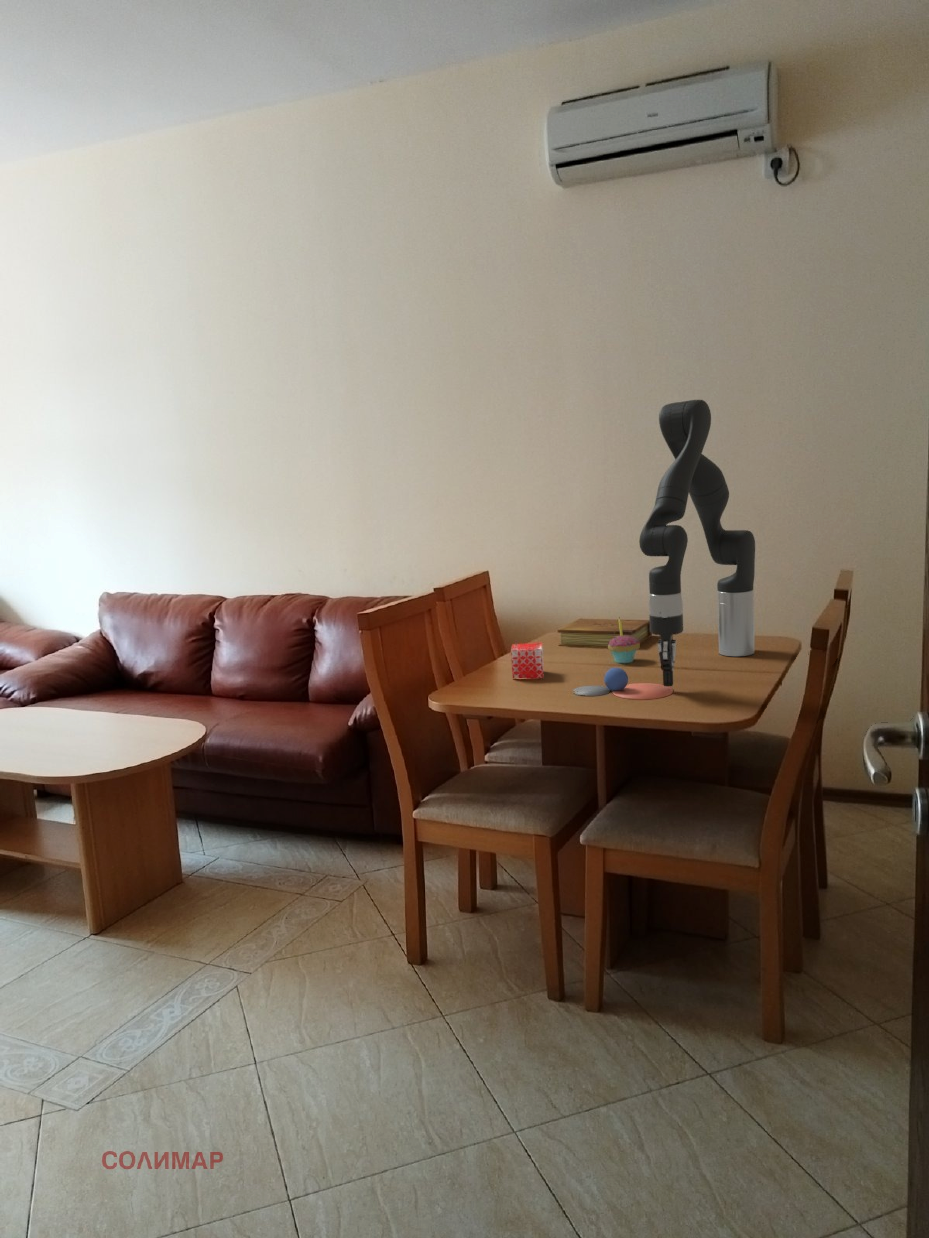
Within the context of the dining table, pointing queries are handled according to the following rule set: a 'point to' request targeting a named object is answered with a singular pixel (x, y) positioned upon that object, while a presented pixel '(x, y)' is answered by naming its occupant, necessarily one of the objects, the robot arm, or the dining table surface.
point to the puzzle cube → (527, 660)
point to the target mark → (644, 691)
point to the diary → (602, 632)
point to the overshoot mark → (591, 690)
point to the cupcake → (623, 647)
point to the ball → (616, 679)
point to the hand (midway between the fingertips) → (668, 685)
